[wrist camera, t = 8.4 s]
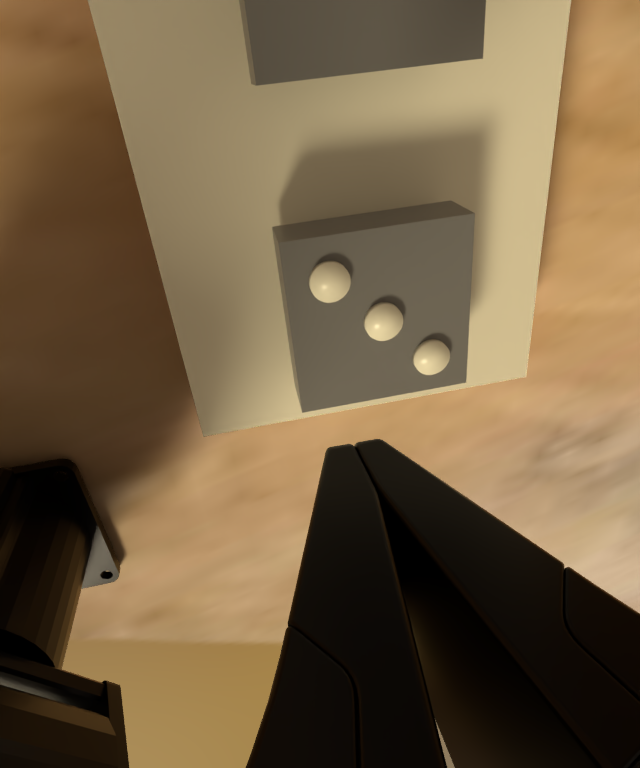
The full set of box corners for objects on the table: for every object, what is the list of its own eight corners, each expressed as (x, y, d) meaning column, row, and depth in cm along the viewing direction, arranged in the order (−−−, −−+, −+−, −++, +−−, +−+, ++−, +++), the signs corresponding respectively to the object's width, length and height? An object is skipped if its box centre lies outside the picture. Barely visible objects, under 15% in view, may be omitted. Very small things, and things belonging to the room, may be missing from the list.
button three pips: (446, 358, 17) (469, 386, 15) (294, 385, 16) (303, 416, 15) (451, 200, 14) (478, 215, 13) (271, 226, 14) (279, 245, 12)
